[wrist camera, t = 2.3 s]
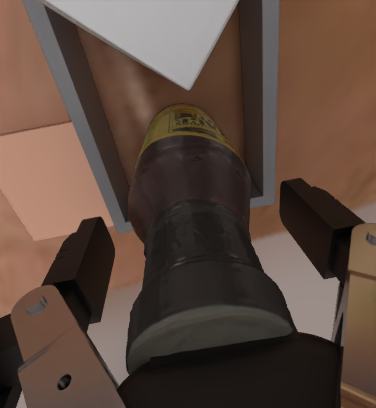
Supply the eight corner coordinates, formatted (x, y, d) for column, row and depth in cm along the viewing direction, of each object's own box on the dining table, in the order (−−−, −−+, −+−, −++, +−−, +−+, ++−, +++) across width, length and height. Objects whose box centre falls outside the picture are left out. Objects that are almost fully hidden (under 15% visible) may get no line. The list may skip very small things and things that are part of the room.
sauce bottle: (228, 135, 23) (413, 357, 6) (182, 179, 25) (224, 443, 8) (177, 80, 20) (254, 208, 3) (129, 135, 22) (25, 394, 5)
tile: (99, 115, 21) (97, 117, 21) (134, 218, 27) (134, 221, 26) (-26, 140, 21) (-31, 142, 21) (36, 237, 27) (34, 240, 26)
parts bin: (248, -161, 14) (285, -254, 10) (256, 179, 26) (274, 203, 21) (11, -112, 14) (-53, -183, 10) (124, 204, 26) (117, 233, 22)
